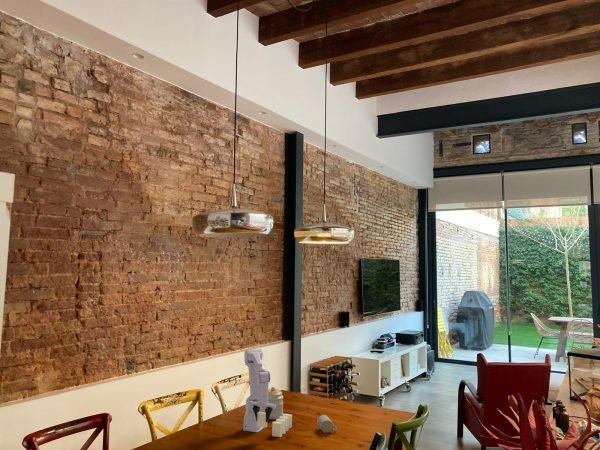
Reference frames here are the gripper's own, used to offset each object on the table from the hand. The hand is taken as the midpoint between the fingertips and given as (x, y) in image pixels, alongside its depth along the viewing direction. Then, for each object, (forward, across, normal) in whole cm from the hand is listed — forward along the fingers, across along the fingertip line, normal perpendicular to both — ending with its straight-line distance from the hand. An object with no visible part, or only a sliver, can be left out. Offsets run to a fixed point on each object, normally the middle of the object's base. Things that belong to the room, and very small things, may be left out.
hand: (262, 421), depth 245 cm
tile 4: (+10, +5, +9) cm, 14 cm away
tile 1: (+10, +5, +24) cm, 26 cm away
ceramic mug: (+10, +28, +27) cm, 41 cm away
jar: (+10, -10, +39) cm, 42 cm away
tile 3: (+10, +5, +14) cm, 18 cm away
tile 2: (+10, +5, +19) cm, 22 cm away
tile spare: (+3, 0, 0) cm, 3 cm away
